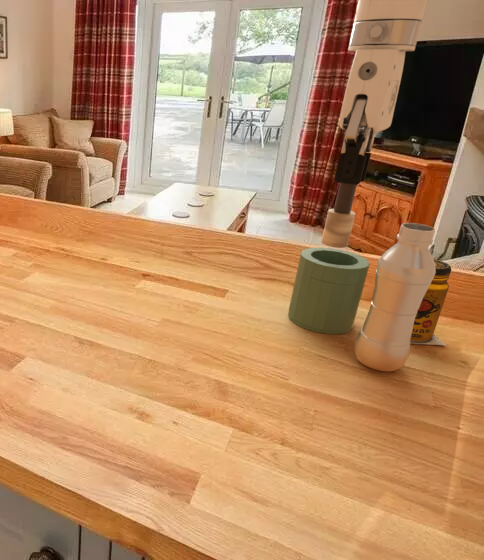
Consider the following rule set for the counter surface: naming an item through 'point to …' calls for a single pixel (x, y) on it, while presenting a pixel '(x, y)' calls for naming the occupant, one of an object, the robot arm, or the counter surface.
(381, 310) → the plastic bottle
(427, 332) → the condiment
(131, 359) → the counter surface
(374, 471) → the counter surface
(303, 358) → the counter surface
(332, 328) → the green hollow cylinder cup
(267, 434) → the counter surface
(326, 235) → the brush
